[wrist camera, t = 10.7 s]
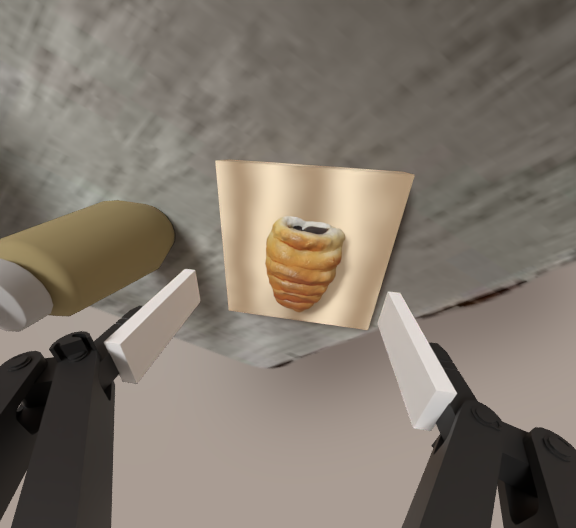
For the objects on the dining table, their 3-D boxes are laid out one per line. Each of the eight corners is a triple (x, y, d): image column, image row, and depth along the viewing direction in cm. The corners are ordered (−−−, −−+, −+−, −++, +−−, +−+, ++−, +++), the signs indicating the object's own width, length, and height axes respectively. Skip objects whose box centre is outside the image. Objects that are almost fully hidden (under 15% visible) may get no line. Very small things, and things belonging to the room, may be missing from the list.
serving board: (237, 295, 28) (228, 310, 26) (229, 159, 21) (215, 160, 18) (363, 312, 27) (367, 330, 24) (402, 171, 19) (414, 174, 17)
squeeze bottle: (115, 239, 27) (-175, 362, 11) (123, 179, 23) (-291, 236, 8) (175, 270, 28) (-16, 425, 12) (193, 217, 24) (-50, 340, 8)
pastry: (324, 306, 24) (324, 332, 20) (264, 294, 24) (254, 317, 21) (347, 223, 19) (351, 238, 16) (272, 210, 20) (261, 222, 16)
